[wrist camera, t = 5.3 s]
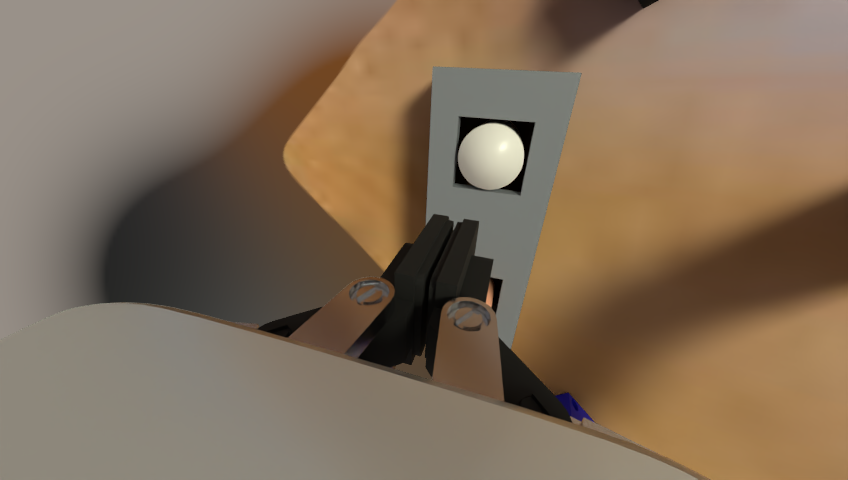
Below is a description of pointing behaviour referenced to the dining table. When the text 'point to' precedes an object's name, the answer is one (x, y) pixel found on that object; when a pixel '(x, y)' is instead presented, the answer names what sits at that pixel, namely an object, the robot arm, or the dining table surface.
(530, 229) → the block
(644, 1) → the digital camera
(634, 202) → the dining table surface
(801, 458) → the dining table surface
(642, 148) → the dining table surface
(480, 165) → the plug
